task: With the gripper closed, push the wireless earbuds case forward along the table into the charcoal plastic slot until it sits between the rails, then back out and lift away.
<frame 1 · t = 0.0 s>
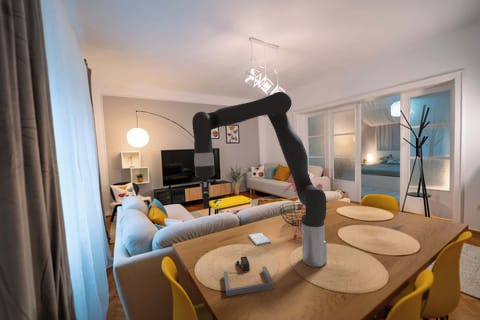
hand: (206, 205, 80), 29 cm above the table, tool pointing down, fingers open, 8 cm apart
hard drive: (259, 240, 112), on the table
wireless earbuds: (243, 267, 87), on the table
slot rails: (247, 281, 77), on the table
figurine: (301, 231, 120), on the table
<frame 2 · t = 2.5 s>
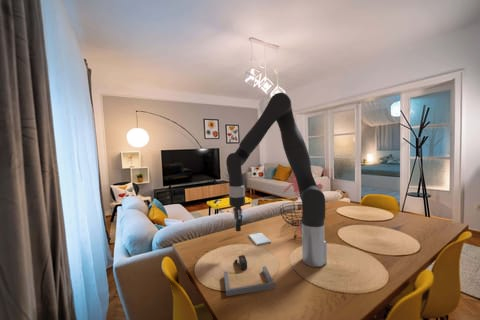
hand: (238, 230, 96), 12 cm above the table, tool pointing down, fingers closed
wireless earbuds: (241, 266, 88), on the table
everything else where it was.
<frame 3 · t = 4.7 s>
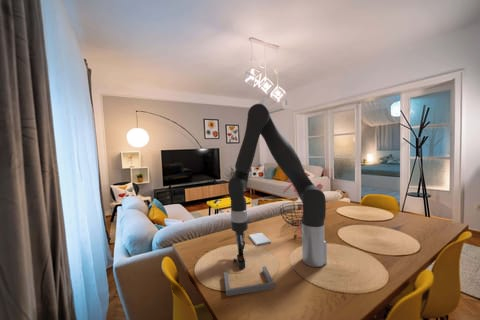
hand: (240, 255, 93), 2 cm above the table, tool pointing down, fingers closed
wireless earbuds: (239, 264, 89), on the table, touching gripper
everything else where it was.
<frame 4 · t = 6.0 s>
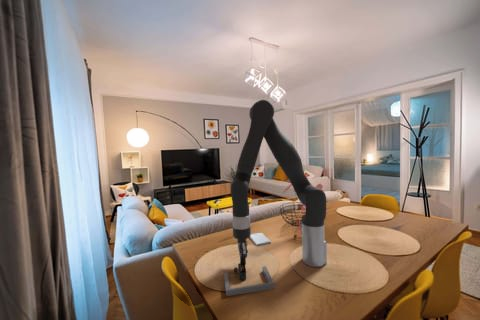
hand: (243, 264, 86), 2 cm above the table, tool pointing down, fingers closed
wireless earbuds: (240, 274, 82), on the table, touching gripper
everything else where it was.
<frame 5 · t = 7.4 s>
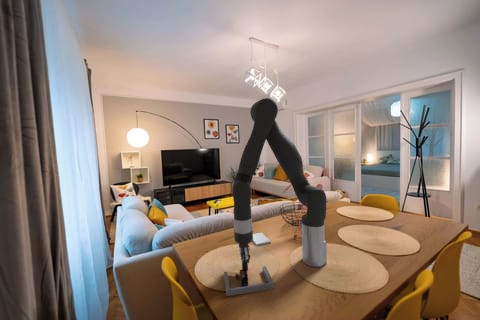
hand: (245, 270, 82), 2 cm above the table, tool pointing down, fingers closed
wireless earbuds: (242, 281, 78), on the table
everything else where it was.
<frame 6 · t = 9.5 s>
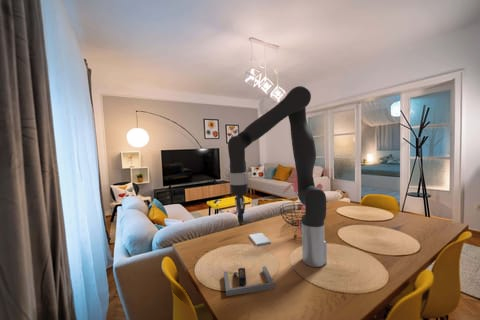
hand: (240, 221, 88), 19 cm above the table, tool pointing down, fingers closed
wireless earbuds: (240, 280, 79), on the table
everything else where it was.
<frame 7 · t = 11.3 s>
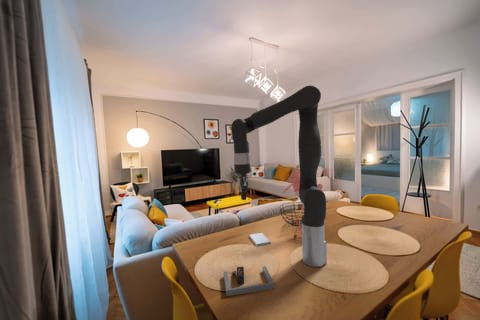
hand: (243, 199, 95), 27 cm above the table, tool pointing down, fingers closed
wireless earbuds: (238, 278, 80), on the table
everything else where it was.
at the end: wireless earbuds inside the target area on the slot rails (4.9 cm from its centre), point -0.5 cm above the slot rails's base; wireless earbuds moved 7.5 cm from its start; the gripper is holding nothing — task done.
